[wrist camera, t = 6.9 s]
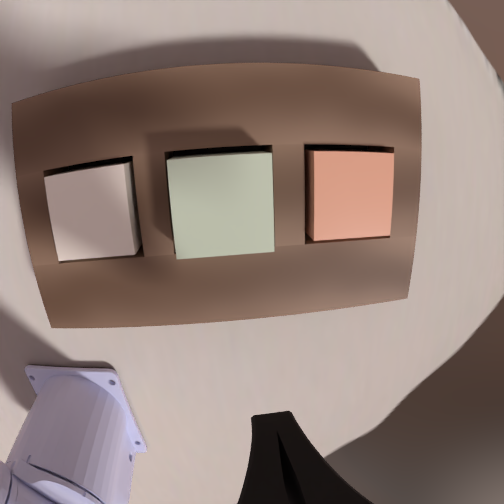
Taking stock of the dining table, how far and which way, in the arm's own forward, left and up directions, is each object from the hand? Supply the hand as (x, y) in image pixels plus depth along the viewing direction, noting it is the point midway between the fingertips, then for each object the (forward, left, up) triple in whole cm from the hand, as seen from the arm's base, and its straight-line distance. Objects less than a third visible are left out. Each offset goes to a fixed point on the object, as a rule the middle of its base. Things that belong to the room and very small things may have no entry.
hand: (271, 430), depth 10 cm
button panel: (+7, +1, -9) cm, 12 cm away
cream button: (+7, +7, -9) cm, 13 cm away
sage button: (+7, +1, -8) cm, 11 cm away
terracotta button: (+7, -5, -9) cm, 12 cm away
